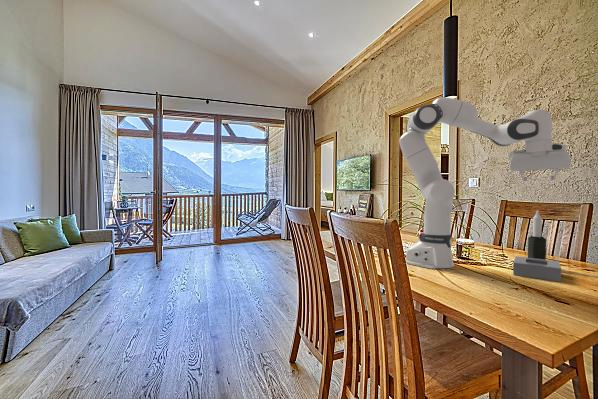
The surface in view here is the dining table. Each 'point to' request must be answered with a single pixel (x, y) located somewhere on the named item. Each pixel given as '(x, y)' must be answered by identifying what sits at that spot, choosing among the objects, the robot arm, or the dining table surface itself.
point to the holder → (537, 268)
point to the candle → (537, 240)
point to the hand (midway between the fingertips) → (538, 180)
